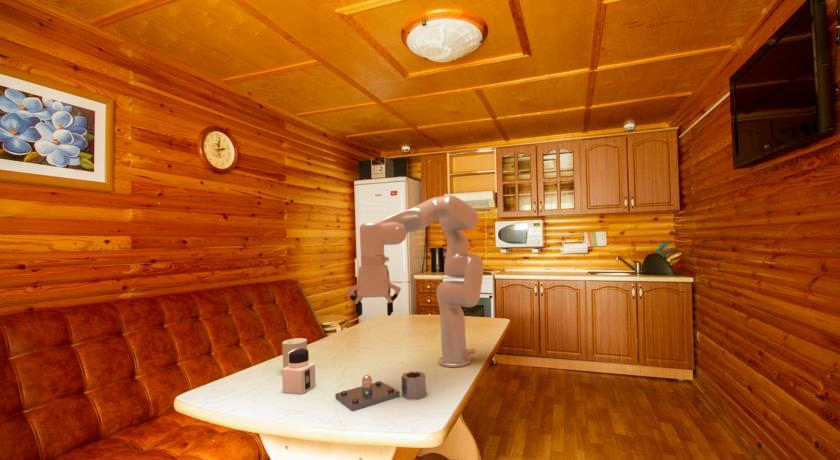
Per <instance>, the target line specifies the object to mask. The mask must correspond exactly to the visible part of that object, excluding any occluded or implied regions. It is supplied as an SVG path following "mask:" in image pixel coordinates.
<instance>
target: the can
mask: <svg viewBox="0 0 840 460" xmlns="http://www.w3.org/2000/svg"><path fill="white" fill-rule="evenodd" d="M281 347H282V365H283V366H282V369H283V368H285V367H287V366H289V365H288V353H289V352H290V351H291V350H294V349H300V348H303V349H307V350H308V339H307V338H303V337H299V338H297V337H296V338H290V339H286V340H283V341H282V342H281Z"/></svg>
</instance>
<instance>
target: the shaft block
mask: <svg viewBox="0 0 840 460" xmlns="http://www.w3.org/2000/svg"><path fill="white" fill-rule="evenodd" d="M361 385H362V386H359V387H354V388H352V389H348V390H342V391H341V392H336V393H335V394H334V395H335V400H337V401H338V402H339V403H341V404H342V405H344V407H346V408H347V409H349V410H350V411H352V412H355V411H357V410H361V409H364V408H367V407H370V406H373V405H377V404H381V403H383V402H386V401H389V400H392V399H393V400H394V399H396V398H400V397H401V391H400V390H398V389H397V388H395V387H392V386H390V385H389V384H386V383H384V382H383V381H381V380H379V381H375V382H373V378H372V377H371V375H369V374H365V375H364V376H363V377H362V379H361Z"/></svg>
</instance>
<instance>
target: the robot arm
mask: <svg viewBox="0 0 840 460" xmlns="http://www.w3.org/2000/svg"><path fill="white" fill-rule="evenodd" d="M479 218H480V217H479V214H478V212H477V211H476V209H475V208H474V207H473V206H471V205H470V204H468V203H466V202H465V201H464V200H462V199H460V198H459V197H457V196H455V195H452V194H451V195H450V194H447V195H441V196H435V197H431V198H429V199H427V200H425V201H423V202H421V203H419V204H417V205H416V206H414V207H411V208H409V209H406V210H405V209H404V211H403V210H402V211H401V212H398V213H396V214H393V215H390V216H388V217H385V218H383V219H381V220H380V221H377V222H363V223H361V224H360V226H359V243H360V244H359V245H360V246H359V247H360V249H359V250H360V266H358V271H357V279H356V280H357V282H356V284H355V285H354V286H351V287H350V288H348V289H347V290H346V292H347V294H348V296H349V299H351V300H352V301H353V302H354V304H355V313H356V314H357V317H361V316H362V315H363V303H362V300H363V298H384V299H386V301H387V303H386V309H387V311H386V312H387V316H389V317H390V316H391V315H392V314H393V313H394V301H395V300H396V299H397V298H398V297H399V294H400V292H401V290H402V288H401V287H399V286H397V285H396V284H393V283H392V282H391V280H390V272H389V267H388V265H387V264H386V262H389V261H390V257H389V256H386V255H385V246H395V245H400V244H402V243H403V242H404V241H405V240H406V239H407V235H408V233H415V232H418V231H421V230H424V229H425V228H426V227H428V226H430V225H432V224H434V223H436V222H437V221H438V223H439V226H440V228H441V229H442V231H443V232H444V234H445V237H446V240H447V245H446V254H445V259H444V260H445V261H444V268H443V269H444V270H443V271H444V274H445V275H446V277H449V278H452V279H455V278H456V279H464V280H445V281H442V282H441V283H439V284H438V286H437V288H436V291H435V294H436V300H437V303H438V308H439V321H440V322H439V323H440V324H439V325H440V341H441V342H440V344H441V357H439V358H438V360H437V361H438V364H439V365H440V366H442V367H446V368H447V367H448V368H459V367H460V368H461V367H465V366H469V364H471V362H472V361H471V360H472V359H471V358H470V357H469V356H470V355H474V354H476V349H475V348H471V349H468V348H467V342H466V338H467V337H466V323H465V322H466V318H465V317H466V316H465V313H464V310H463V309H462V307H463V308H473V307H475V306H476V305H478V303H479V300H480V297H481V292H482V286H483V285H482V283H483V277H484V263H483V260H482V258H481V257H480V256H479V255H477V254H476V253H469V241H468V238H467V235H466V234H465V232H464V231H465V230H472V229H474V228H476V227H477V225H478V224H479ZM463 230H464V231H463ZM356 290H357V291H356ZM391 290H394V294H393V295H391ZM354 291H356V293H357V295H355V294H354Z"/></svg>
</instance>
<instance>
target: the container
mask: <svg viewBox="0 0 840 460" xmlns="http://www.w3.org/2000/svg"><path fill="white" fill-rule="evenodd" d="M309 356H310V355H309V350H308V348H307V349H303V348H300V349H294V350H291V351H290V352H289V353H288V365H289V366H287V367H285V368H283V367H282V369H281V375H282V377H281V378H282V379H281V380H282V381H281V382H282V393H286V394H295V395H296V394H298V395H303V394H304V393H306V392H308V391H310V390H311V389H313V388H314V387H316V382H317V381H316V363H314V362H310V360H309V358H310V357H309Z"/></svg>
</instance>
